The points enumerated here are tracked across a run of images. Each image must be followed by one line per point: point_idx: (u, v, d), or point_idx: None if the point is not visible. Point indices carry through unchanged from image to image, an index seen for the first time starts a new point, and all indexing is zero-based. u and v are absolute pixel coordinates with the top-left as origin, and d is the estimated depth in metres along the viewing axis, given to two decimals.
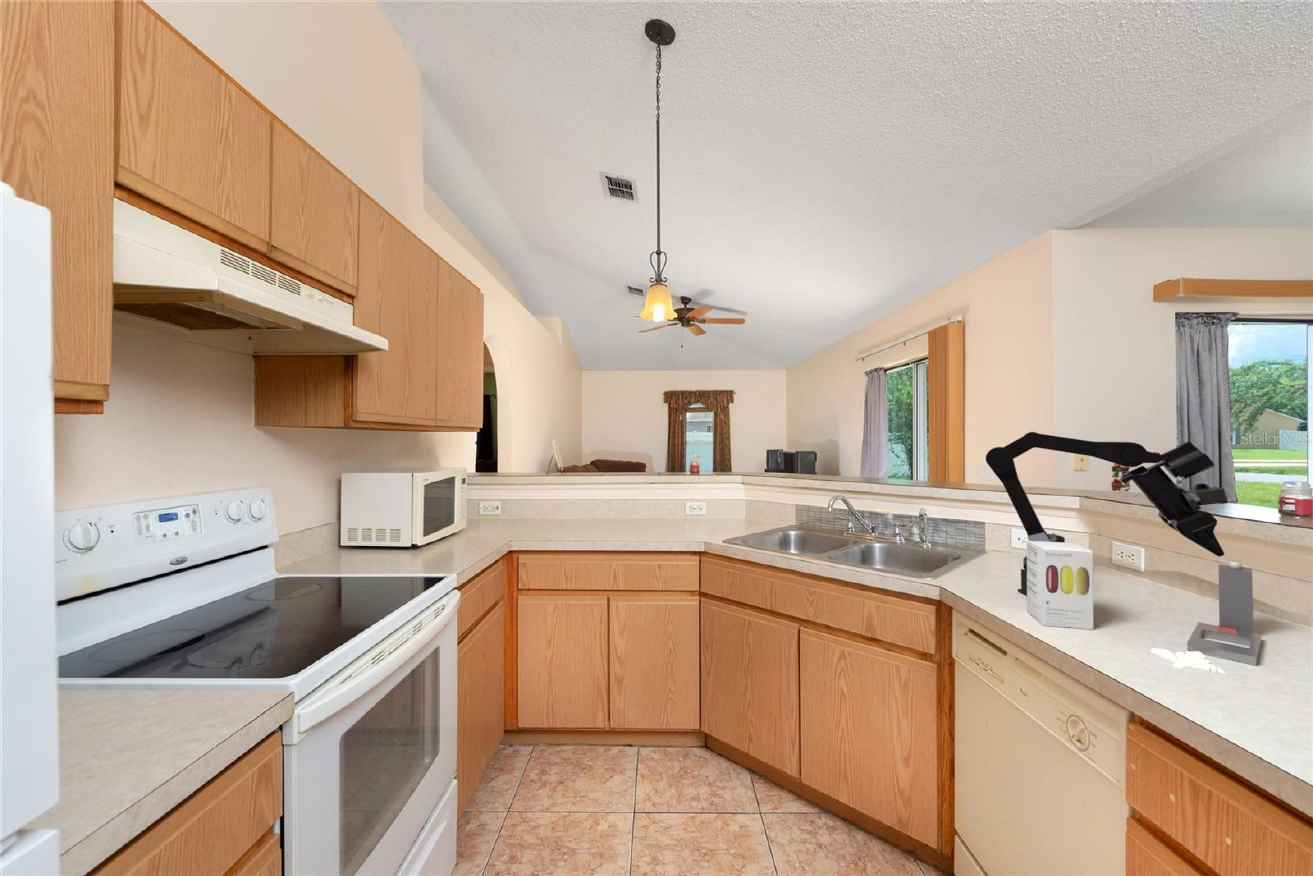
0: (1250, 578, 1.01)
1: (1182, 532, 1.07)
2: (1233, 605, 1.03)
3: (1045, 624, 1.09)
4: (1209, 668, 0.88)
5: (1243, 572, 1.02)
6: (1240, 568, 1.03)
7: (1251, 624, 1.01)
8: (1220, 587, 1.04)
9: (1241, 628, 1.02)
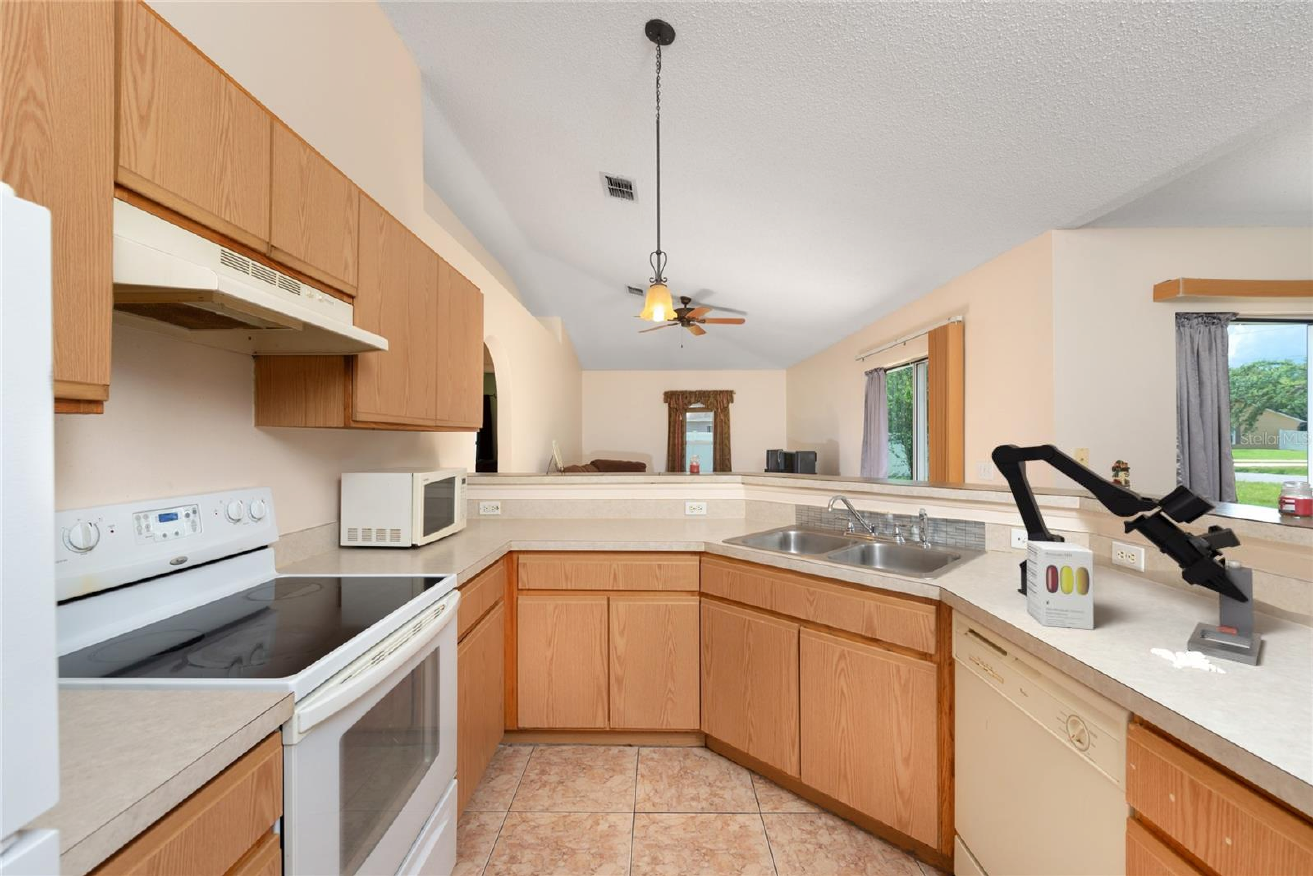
0: (1250, 578, 1.01)
1: (1190, 583, 1.03)
2: (1233, 605, 1.03)
3: (1045, 624, 1.09)
4: (1209, 668, 0.88)
5: (1243, 572, 1.02)
6: (1240, 568, 1.03)
7: (1251, 624, 1.01)
8: None
9: (1241, 628, 1.02)
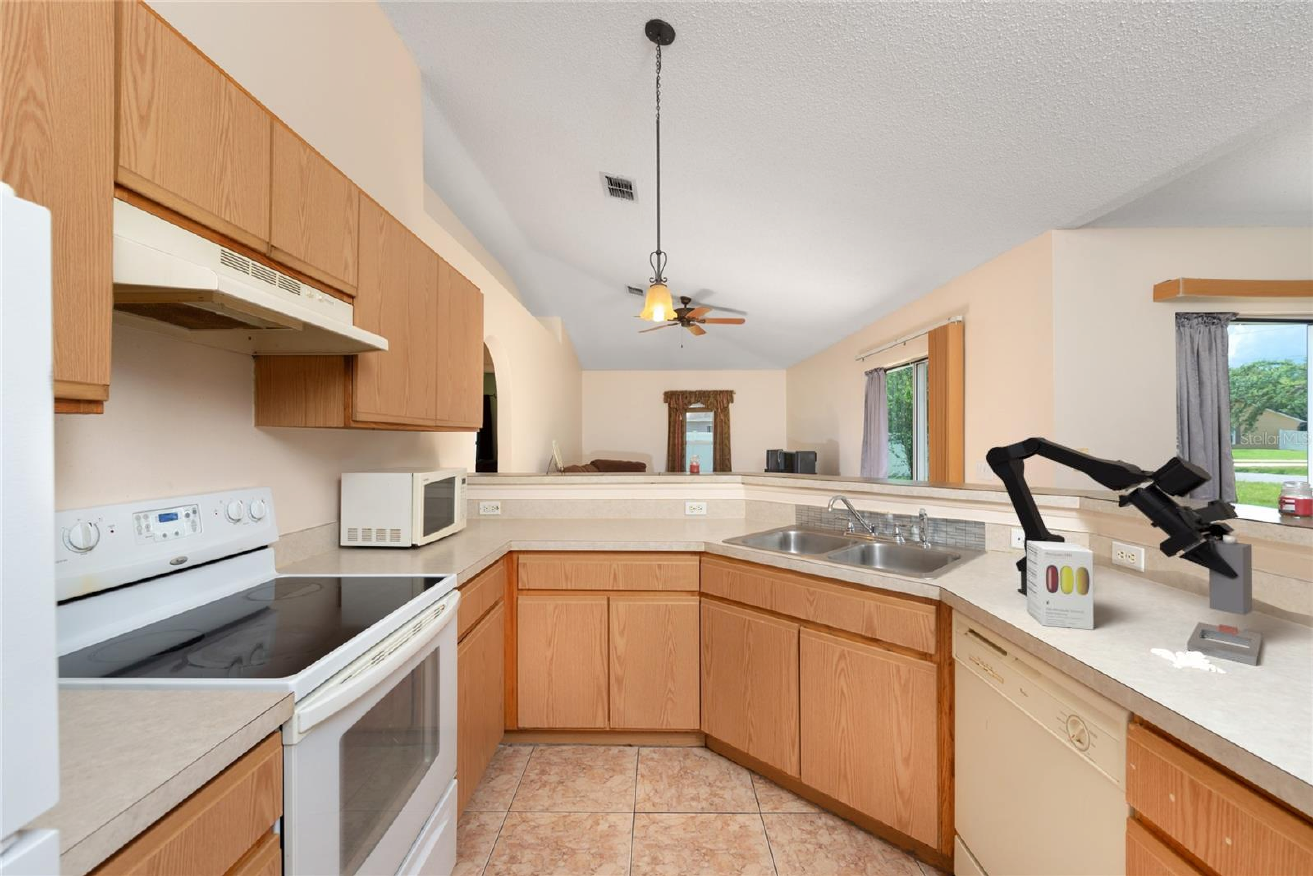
0: (1240, 553, 0.96)
1: (1167, 555, 1.00)
2: (1223, 581, 0.98)
3: (1045, 624, 1.09)
4: (1209, 668, 0.88)
5: (1234, 547, 0.97)
6: (1234, 543, 0.98)
7: (1241, 601, 0.96)
8: None
9: (1231, 605, 0.97)
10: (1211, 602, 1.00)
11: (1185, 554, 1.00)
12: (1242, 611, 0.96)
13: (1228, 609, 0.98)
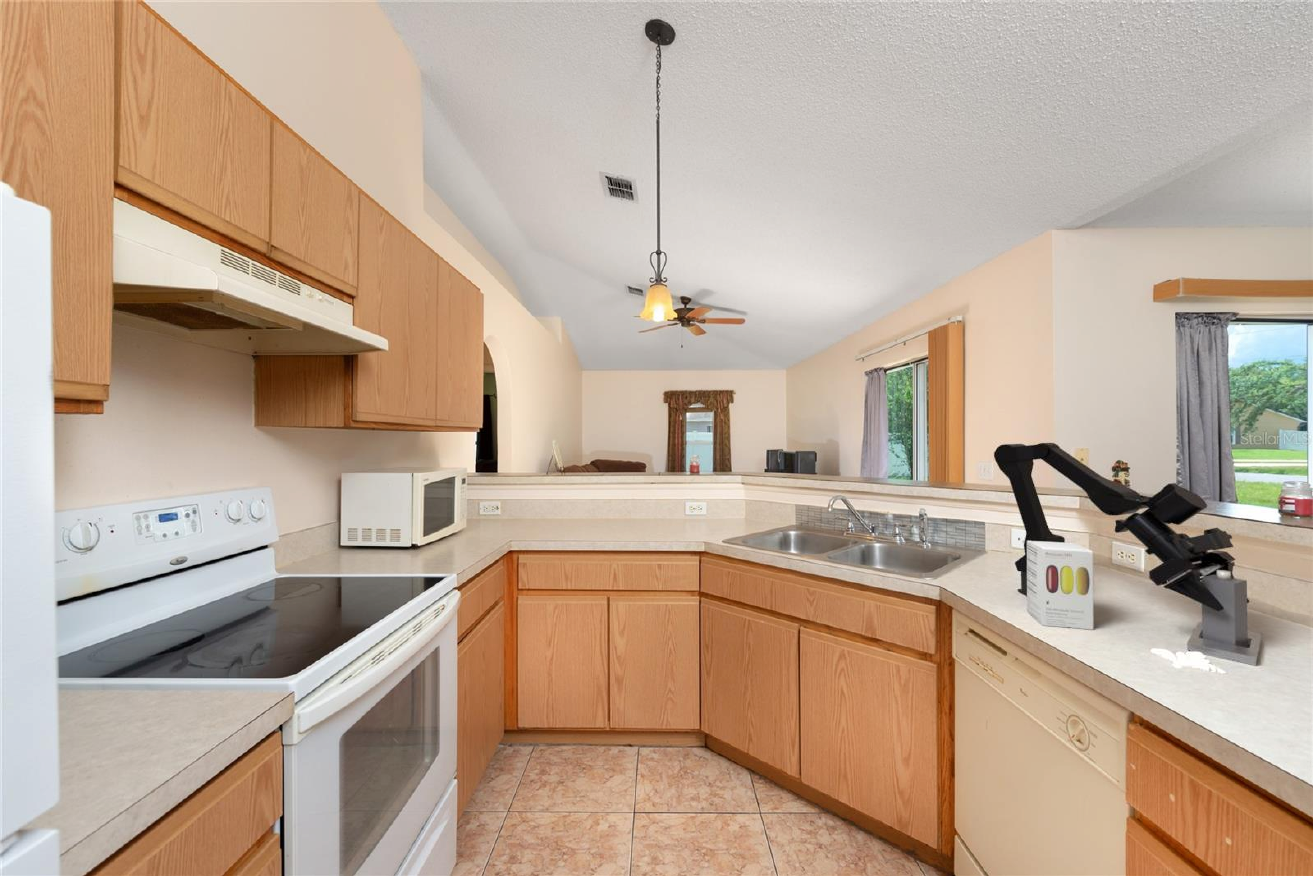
0: (1232, 589, 0.95)
1: (1155, 583, 1.00)
2: (1216, 617, 0.97)
3: (1045, 624, 1.09)
4: (1208, 668, 0.88)
5: (1225, 582, 0.96)
6: (1227, 579, 0.97)
7: (1233, 638, 0.95)
8: None
9: (1223, 642, 0.96)
10: (1204, 637, 0.99)
11: (1169, 584, 0.99)
12: None
13: None
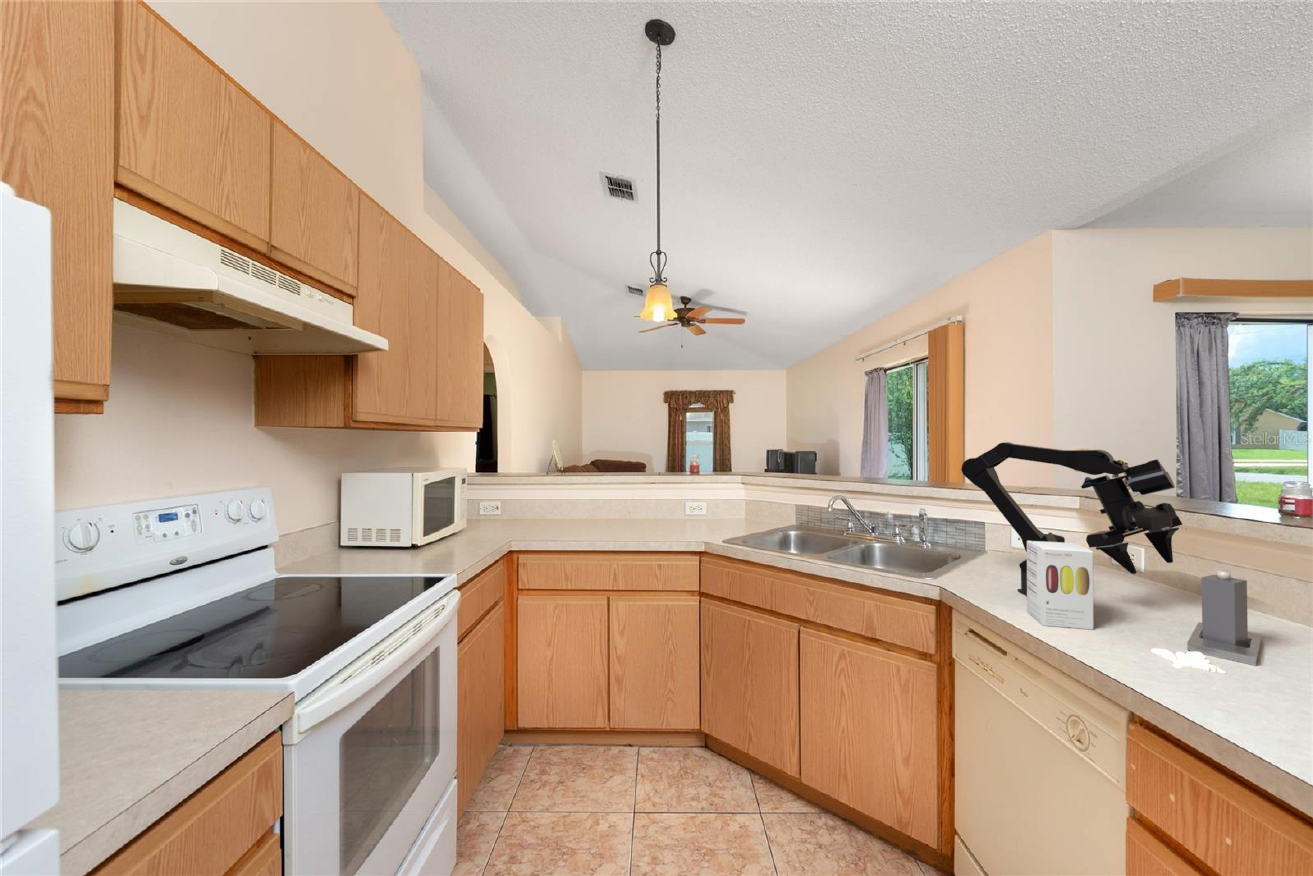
0: (1232, 589, 0.95)
1: None
2: (1216, 617, 0.97)
3: (1045, 624, 1.09)
4: (1208, 668, 0.88)
5: (1225, 582, 0.96)
6: (1227, 579, 0.97)
7: (1233, 638, 0.95)
8: (1203, 597, 0.98)
9: (1223, 642, 0.96)
10: (1204, 637, 0.99)
11: (1099, 548, 1.16)
12: None
13: None
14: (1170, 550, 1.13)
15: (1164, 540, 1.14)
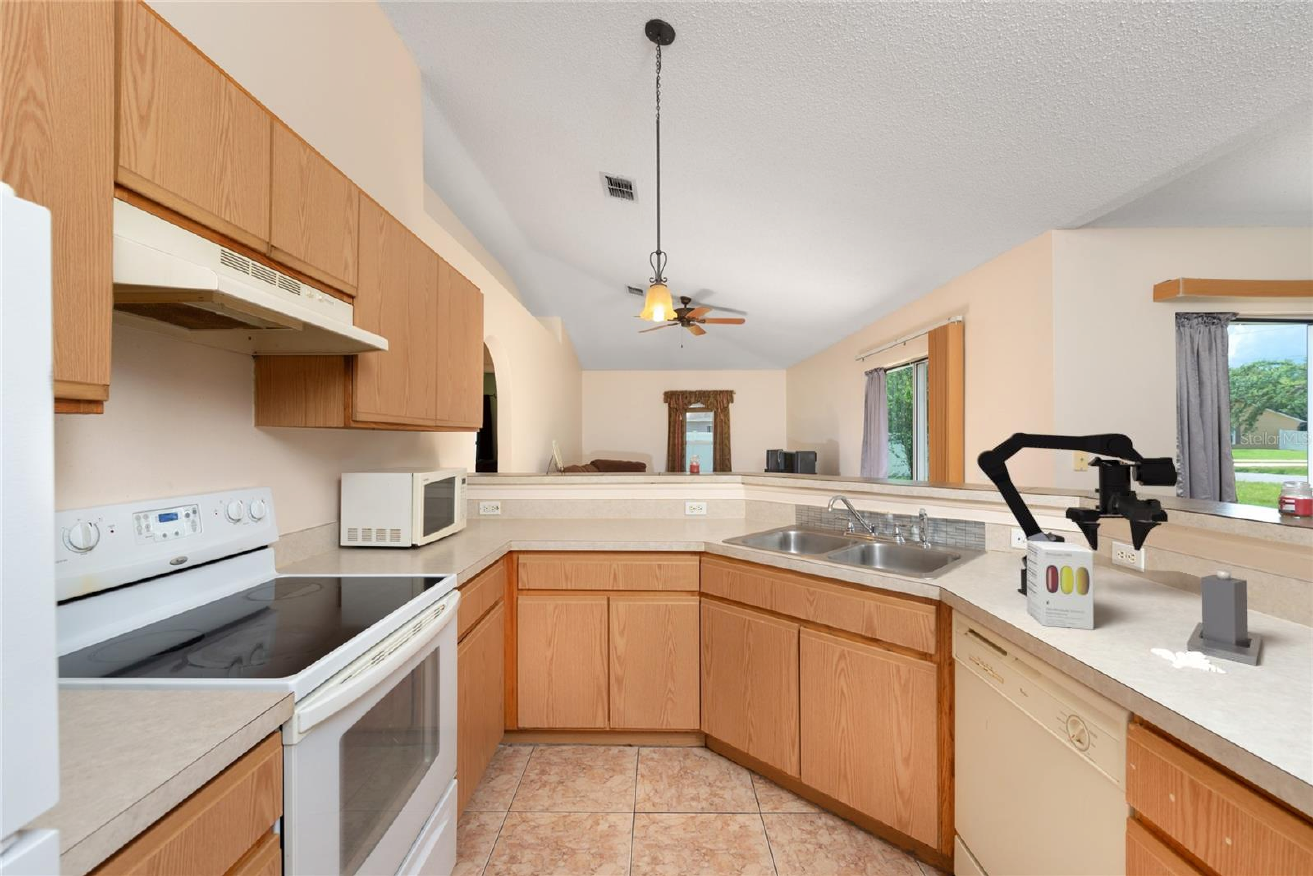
0: (1232, 589, 0.95)
1: (1066, 516, 1.25)
2: (1216, 617, 0.97)
3: (1045, 624, 1.09)
4: (1208, 668, 0.88)
5: (1225, 582, 0.96)
6: (1227, 579, 0.97)
7: (1233, 638, 0.95)
8: (1203, 597, 0.98)
9: (1223, 642, 0.96)
10: (1204, 637, 0.99)
11: (1074, 521, 1.24)
12: None
13: None
14: (1142, 540, 1.20)
15: (1141, 530, 1.20)
